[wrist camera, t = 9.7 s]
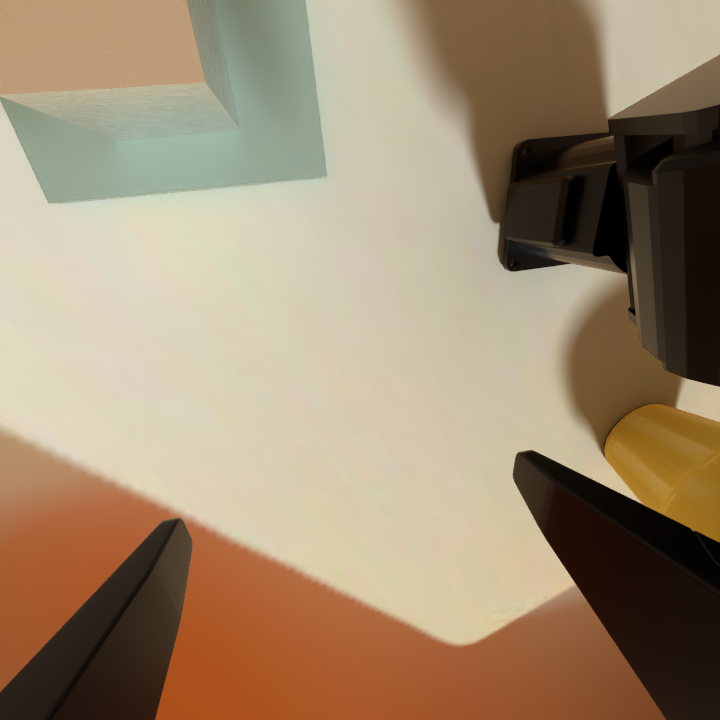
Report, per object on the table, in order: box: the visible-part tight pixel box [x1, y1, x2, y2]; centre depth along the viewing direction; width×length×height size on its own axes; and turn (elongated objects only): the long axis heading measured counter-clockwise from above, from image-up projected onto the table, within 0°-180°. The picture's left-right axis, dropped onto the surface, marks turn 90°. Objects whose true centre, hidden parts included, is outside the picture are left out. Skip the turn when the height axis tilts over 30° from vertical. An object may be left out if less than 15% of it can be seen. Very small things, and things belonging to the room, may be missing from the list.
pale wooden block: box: [0, 0, 241, 141], centre depth 10 cm, size 5×5×6 cm
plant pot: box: [604, 404, 720, 542], centre depth 24 cm, size 10×10×10 cm
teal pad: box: [0, 0, 327, 203], centre depth 13 cm, size 12×9×1 cm
